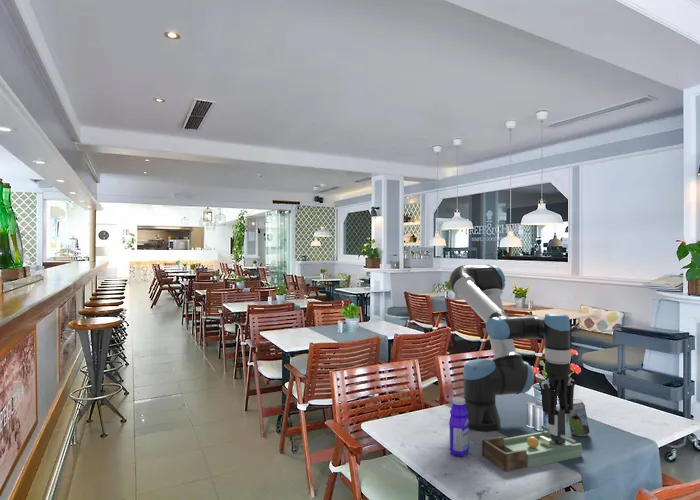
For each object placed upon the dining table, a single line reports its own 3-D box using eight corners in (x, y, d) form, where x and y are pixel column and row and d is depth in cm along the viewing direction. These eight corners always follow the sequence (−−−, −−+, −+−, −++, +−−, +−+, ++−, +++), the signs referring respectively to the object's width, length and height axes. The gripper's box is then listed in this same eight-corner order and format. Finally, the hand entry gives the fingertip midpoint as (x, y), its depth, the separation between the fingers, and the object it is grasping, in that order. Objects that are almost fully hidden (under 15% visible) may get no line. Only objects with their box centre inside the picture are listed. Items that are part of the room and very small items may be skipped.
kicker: (546, 433, 147) (545, 402, 148) (578, 449, 135) (578, 414, 135) (529, 436, 145) (529, 404, 145) (560, 453, 133) (560, 417, 133)
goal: (502, 451, 139) (502, 436, 140) (526, 467, 129) (526, 450, 129) (482, 455, 137) (482, 439, 137) (505, 471, 127) (505, 454, 127)
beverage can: (592, 438, 150) (591, 404, 150) (569, 437, 151) (569, 402, 151) (586, 431, 156) (585, 398, 156) (564, 430, 157) (563, 397, 158)
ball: (525, 448, 137) (525, 437, 137) (528, 444, 140) (528, 433, 140) (536, 451, 135) (536, 439, 135) (540, 447, 137) (540, 436, 137)
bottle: (464, 459, 134) (464, 403, 134) (446, 455, 137) (446, 400, 137) (471, 450, 140) (471, 397, 140) (454, 446, 143) (454, 394, 143)
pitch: (552, 441, 148) (551, 429, 148) (581, 456, 136) (581, 444, 136) (500, 451, 140) (500, 438, 140) (528, 467, 129) (528, 454, 129)
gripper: (566, 356, 148) (567, 425, 147) (529, 360, 142) (529, 432, 141) (585, 361, 141) (586, 434, 140) (547, 366, 135) (547, 441, 134)
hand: (557, 433), depth 141 cm, fingers closed on kicker, 3 cm apart
